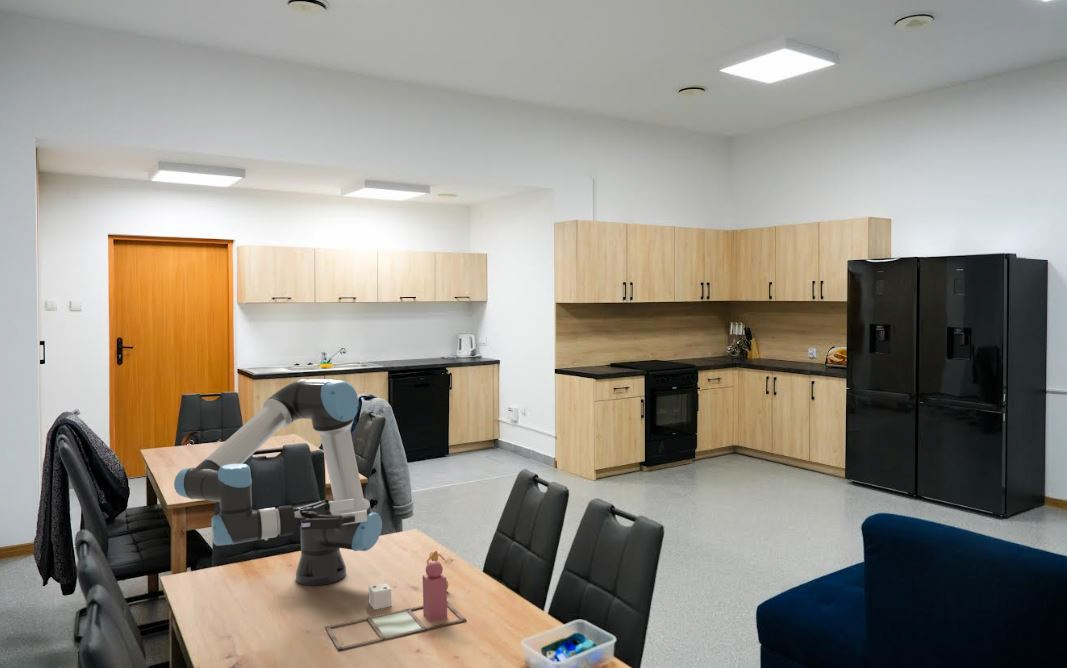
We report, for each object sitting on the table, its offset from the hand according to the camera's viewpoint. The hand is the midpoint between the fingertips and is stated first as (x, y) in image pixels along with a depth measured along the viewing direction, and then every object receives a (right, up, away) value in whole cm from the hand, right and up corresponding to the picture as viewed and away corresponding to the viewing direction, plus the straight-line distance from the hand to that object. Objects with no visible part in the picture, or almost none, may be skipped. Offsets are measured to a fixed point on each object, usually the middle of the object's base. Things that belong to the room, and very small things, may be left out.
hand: (360, 509), depth 200 cm
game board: (+10, -30, -3) cm, 32 cm away
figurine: (+19, -29, +20) cm, 40 cm away
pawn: (+20, -30, +2) cm, 36 cm away
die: (+3, -30, +11) cm, 32 cm away
